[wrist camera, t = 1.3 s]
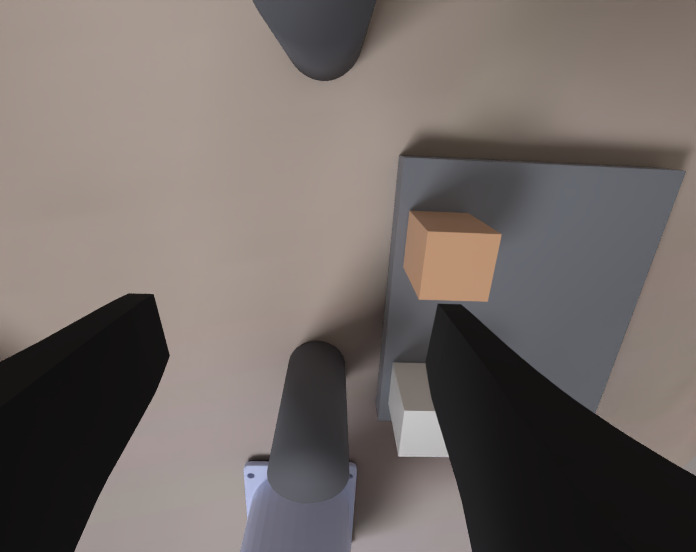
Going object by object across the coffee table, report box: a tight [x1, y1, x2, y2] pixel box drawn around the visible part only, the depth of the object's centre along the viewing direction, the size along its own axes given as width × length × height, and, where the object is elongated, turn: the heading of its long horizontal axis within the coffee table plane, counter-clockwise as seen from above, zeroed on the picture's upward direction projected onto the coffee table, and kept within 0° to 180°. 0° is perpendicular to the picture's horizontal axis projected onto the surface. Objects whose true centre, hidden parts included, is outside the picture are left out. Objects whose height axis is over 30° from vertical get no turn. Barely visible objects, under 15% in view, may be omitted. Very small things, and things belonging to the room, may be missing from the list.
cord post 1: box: [253, 0, 376, 81], centre depth 13 cm, size 4×4×8 cm
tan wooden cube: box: [403, 211, 502, 302], centre depth 17 cm, size 3×3×4 cm
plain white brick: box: [388, 362, 449, 457], centre depth 20 cm, size 3×3×4 cm
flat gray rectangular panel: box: [376, 155, 686, 421], centre depth 21 cm, size 16×14×2 cm
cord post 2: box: [267, 341, 349, 503], centre depth 20 cm, size 4×4×8 cm
